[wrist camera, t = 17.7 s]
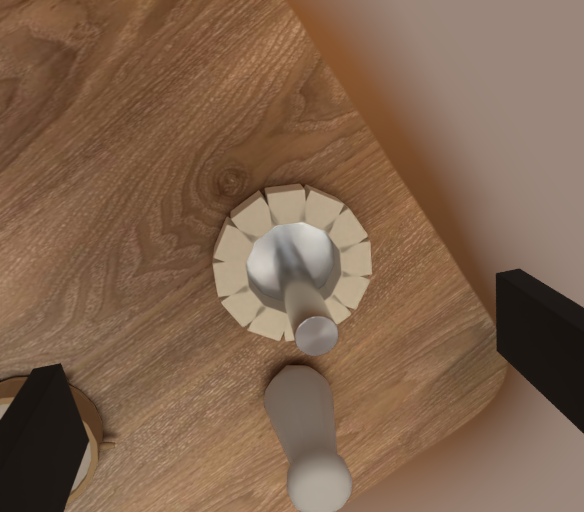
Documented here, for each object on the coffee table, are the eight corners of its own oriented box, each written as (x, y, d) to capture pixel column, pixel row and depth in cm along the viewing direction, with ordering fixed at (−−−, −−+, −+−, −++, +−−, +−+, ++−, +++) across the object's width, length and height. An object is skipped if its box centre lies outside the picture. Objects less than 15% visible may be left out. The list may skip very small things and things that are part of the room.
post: (227, 216, 38) (229, 282, 25) (327, 199, 39) (382, 254, 25) (245, 309, 41) (256, 412, 27) (339, 291, 41) (393, 384, 28)
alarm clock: (128, 472, 41) (-49, 580, 38) (128, 438, 45) (-30, 532, 43) (50, 368, 37) (-153, 480, 34) (59, 342, 41) (-120, 440, 39)
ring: (203, 195, 36) (202, 202, 34) (358, 175, 37) (367, 180, 35) (226, 336, 40) (227, 351, 38) (366, 314, 41) (375, 327, 39)
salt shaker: (248, 388, 43) (258, 505, 31) (292, 342, 42) (320, 444, 30) (296, 422, 45) (323, 545, 32) (339, 379, 44) (384, 489, 32)
